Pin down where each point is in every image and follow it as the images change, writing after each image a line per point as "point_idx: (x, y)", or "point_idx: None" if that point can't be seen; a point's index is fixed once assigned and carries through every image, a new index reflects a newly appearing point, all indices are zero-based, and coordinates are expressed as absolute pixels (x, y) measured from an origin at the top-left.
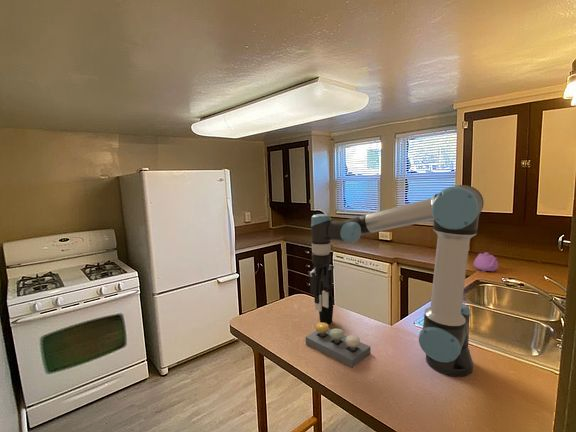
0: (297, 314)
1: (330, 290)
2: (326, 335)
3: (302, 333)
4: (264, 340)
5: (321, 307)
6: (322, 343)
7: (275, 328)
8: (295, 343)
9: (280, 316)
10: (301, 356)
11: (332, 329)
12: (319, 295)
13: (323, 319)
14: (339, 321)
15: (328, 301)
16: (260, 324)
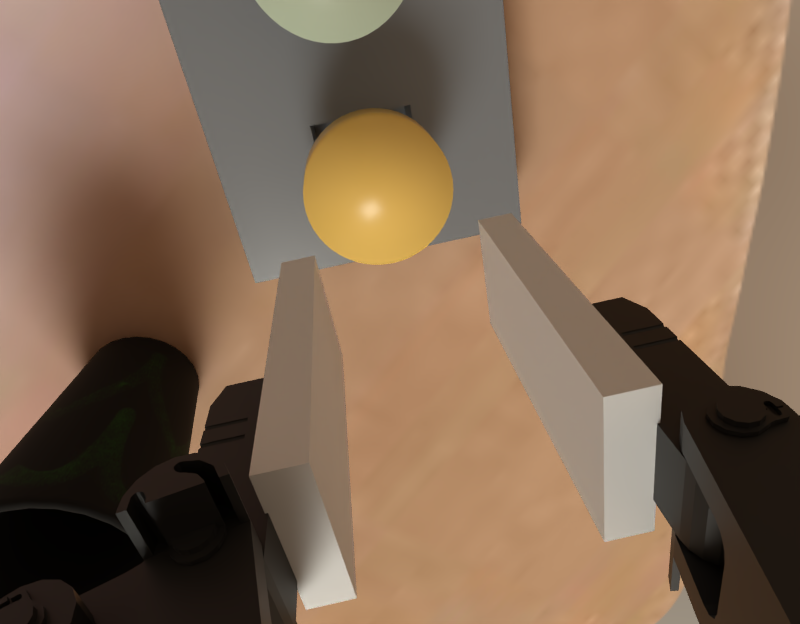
0: None
1: (159, 503)
2: None
3: (422, 338)
4: None
5: (498, 242)
6: (478, 25)
7: (531, 475)
8: (559, 251)
9: (405, 577)
10: (657, 64)
11: (335, 37)
12: (689, 403)
13: (180, 387)
14: (13, 337)
15: (67, 502)
16: (570, 548)
